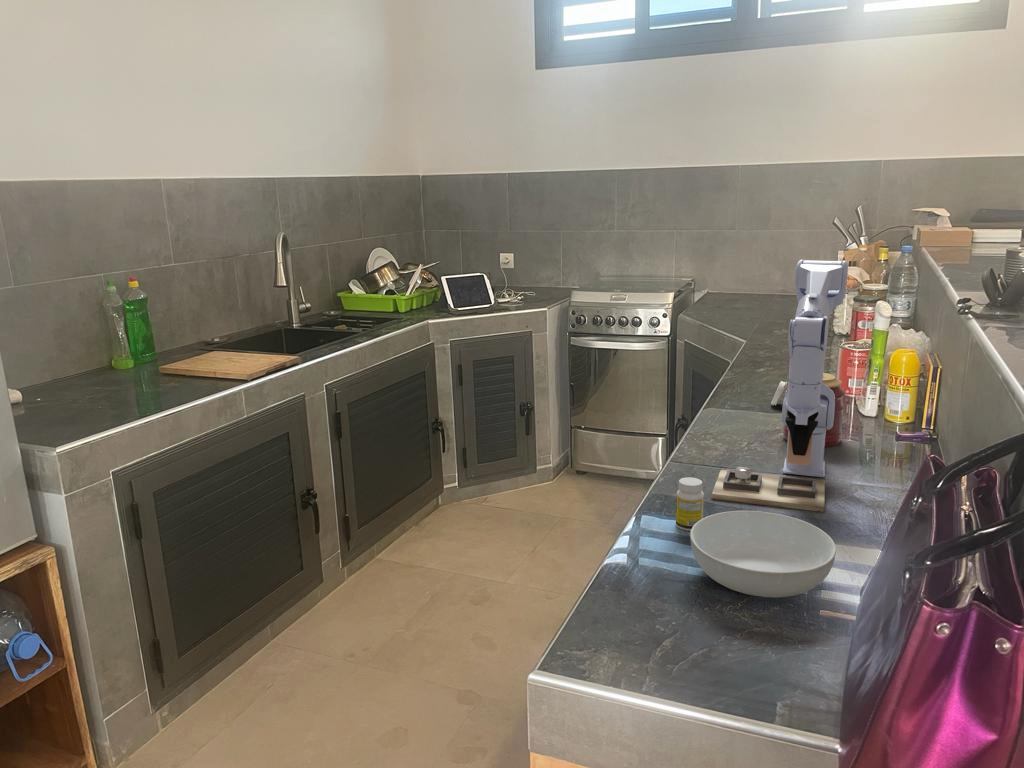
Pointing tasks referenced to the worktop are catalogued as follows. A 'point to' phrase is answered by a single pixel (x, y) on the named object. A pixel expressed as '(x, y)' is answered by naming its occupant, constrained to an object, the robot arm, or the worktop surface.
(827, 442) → the canister
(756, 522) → the serving bowl
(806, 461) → the tan tall block
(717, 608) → the worktop surface
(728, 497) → the board
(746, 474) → the pin
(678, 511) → the supplement bottle
